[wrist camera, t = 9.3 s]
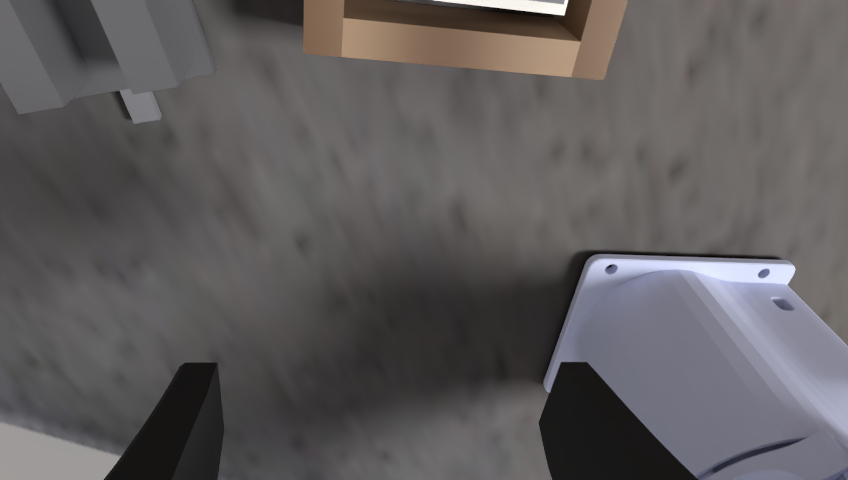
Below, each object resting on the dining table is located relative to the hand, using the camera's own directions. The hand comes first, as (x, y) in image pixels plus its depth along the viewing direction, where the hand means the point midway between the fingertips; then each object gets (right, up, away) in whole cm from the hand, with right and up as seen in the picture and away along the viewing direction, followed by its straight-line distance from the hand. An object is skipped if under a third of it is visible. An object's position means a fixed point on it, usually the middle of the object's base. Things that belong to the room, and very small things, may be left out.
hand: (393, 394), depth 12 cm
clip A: (-9, +10, +4) cm, 14 cm away
